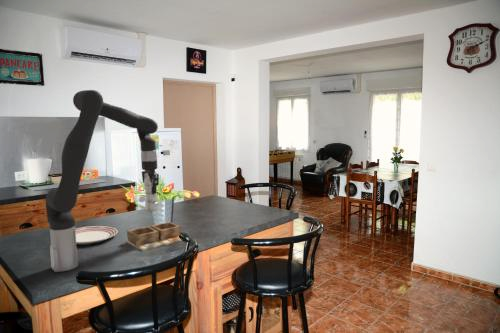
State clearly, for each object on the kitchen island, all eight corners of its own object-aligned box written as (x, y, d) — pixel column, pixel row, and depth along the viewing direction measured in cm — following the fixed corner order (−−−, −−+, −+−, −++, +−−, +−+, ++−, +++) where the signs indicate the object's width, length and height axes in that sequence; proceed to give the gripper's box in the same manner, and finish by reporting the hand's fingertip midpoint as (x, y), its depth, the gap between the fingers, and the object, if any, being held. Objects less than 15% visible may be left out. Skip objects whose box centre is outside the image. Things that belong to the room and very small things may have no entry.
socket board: (142, 251, 166) (141, 238, 165) (126, 241, 179) (125, 230, 179) (186, 239, 182) (186, 228, 181) (169, 231, 195) (168, 221, 195)
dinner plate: (117, 228, 202) (117, 223, 202) (118, 243, 177) (118, 237, 177) (63, 234, 193) (63, 228, 192) (56, 251, 167) (55, 244, 167)
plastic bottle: (142, 211, 180) (140, 172, 177) (154, 208, 185) (152, 170, 182) (149, 213, 176) (146, 173, 173) (161, 210, 180) (159, 172, 178)
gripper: (135, 159, 179) (137, 191, 182) (148, 161, 169) (150, 196, 171) (149, 157, 184) (151, 189, 187) (163, 160, 174) (164, 193, 176)
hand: (151, 192), depth 179 cm, fingers closed on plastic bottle, 6 cm apart
